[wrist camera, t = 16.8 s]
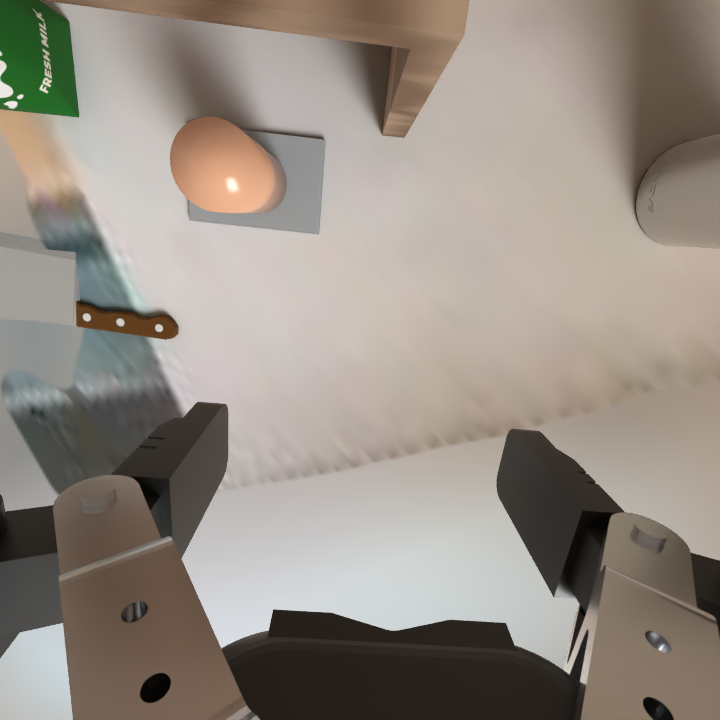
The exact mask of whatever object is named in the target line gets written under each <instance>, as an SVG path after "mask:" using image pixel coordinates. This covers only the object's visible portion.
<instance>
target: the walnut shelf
mask: <svg viewBox="0 0 720 720" xmlns="http://www.w3.org/2000/svg"><path fill="white" fill-rule="evenodd" d="M44 1H51V2H59V3H66V4H74V5H82V6H89V7H97V8H104V9H112V10H119V11H127V12H135V13H142V14H150V15H157V16H165V17H172V18H180V19H187V20H195V21H203V22H210V23H218V24H225V25H233V26H240V27H248V28H256V29H263V30H271V31H278V32H286V33H293V34H301V35H309V36H316V37H324V38H331V39H339V40H346V41H354V42H362V43H369V44H377V45H384V46H392V47H391V56H390V66H389V75H388V85H387V94H386V103H385V113H384V122H383V132H382V135H385V136H394V137H402V138H404V137H405V136H406V134H407V132H408V130H409V129H410V127H411V125H412V124H413V122H414V120H415V118H416V117H417V115H418V113H419V112H420V110H421V108H422V106H423V105H424V103H425V101H426V100H427V98H428V96H429V94H430V93H431V91H432V89H433V87H434V86H435V84H436V82H437V81H438V79H439V77H440V75H441V74H442V72H443V70H444V69H445V67H446V65H447V63H448V62H449V60H450V58H451V57H452V55H453V53H454V51H455V50H456V48H457V46H458V45H459V43H460V41H461V39H462V38H463V36H464V32H465V26H466V19H467V13H468V6H469V0H44Z"/></svg>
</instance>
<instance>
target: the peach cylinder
mask: <svg viewBox="0 0 720 720" xmlns="http://www.w3.org/2000/svg"><path fill="white" fill-rule="evenodd" d="M170 165H171V170H172V174H173V177H174V180H175V182H176V184H177V186H178V187H179V189H180V190H181V192H182V193H183V194H184V195H185V197H186V198H187V199H188V200H190V201H191V202H192V203H193V204H195V205H196V206H198V207H200V208H202V209H205V210H207V211H211V212H222V213H253V214H262V213H267V212H270V211H272V210H273V209H275V208H276V207H277V206H278V205H279V204H280V203H281V202H282V200H283V198H284V196H285V193H286V188H287V181H286V175H285V172H284V169H283V167H282V165H281V164H280V162H279V161H278V160H277V159H276V158H275V157H274V156H273V155H272V154H271V153H269V152H268V151H267V150H265V149H264V148H263V147H262V146H260V145H259V144H258V143H257V142H255V141H254V140H253V139H252V138H250V137H249V136H248V135H247V134H245V133H244V132H243V131H242V130H240V129H239V128H238V127H237V126H235V125H234V124H232V123H231V122H229V121H227V120H224V119H222V118H218V117H211V116H209V117H200V118H197V119H194V120H192V121H190V122H188V123H187V124H186V125H184V126H183V127H182V128H181V129H180V130H179V132H178V133H177V135H176V137H175V139H174V141H173V144H172V147H171V153H170Z"/></svg>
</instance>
